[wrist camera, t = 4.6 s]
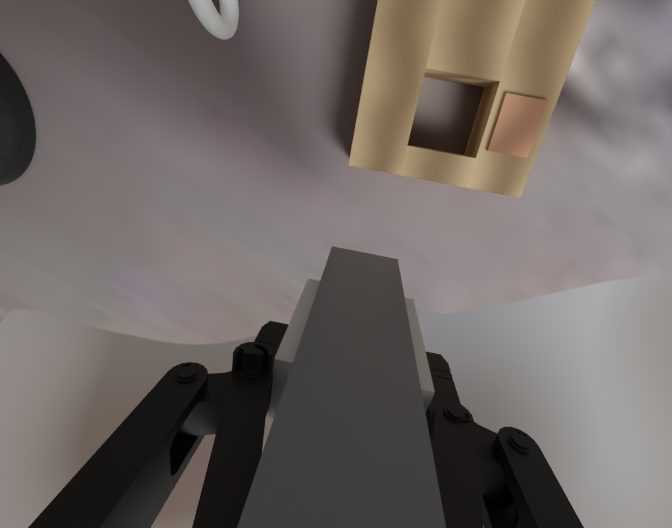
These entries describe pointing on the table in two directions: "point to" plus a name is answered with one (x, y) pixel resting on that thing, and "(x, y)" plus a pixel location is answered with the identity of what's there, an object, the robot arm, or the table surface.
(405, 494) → the plug
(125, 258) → the table surface
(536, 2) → the port block
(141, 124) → the table surface
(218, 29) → the mug
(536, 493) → the robot arm
